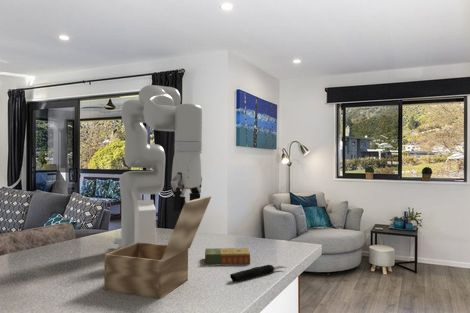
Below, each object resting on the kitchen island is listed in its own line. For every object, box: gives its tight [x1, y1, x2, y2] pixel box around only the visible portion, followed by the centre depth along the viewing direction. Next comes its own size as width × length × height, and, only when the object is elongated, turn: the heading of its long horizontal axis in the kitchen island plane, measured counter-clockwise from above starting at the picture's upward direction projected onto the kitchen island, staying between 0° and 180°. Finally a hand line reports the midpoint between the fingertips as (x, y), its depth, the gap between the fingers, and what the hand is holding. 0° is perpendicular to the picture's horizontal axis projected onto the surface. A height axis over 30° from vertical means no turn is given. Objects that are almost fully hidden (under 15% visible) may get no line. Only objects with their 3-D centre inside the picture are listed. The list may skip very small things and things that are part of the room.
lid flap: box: [161, 195, 212, 262], centre depth 104 cm, size 17×16×1 cm
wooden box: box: [103, 242, 189, 300], centre depth 109 cm, size 18×16×10 cm
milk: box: [135, 199, 157, 244], centre depth 132 cm, size 6×6×22 cm
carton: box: [204, 247, 251, 266], centre depth 134 cm, size 8×16×4 cm, turn 94°
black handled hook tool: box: [230, 264, 288, 283], centre depth 118 cm, size 22×4×3 cm, turn 129°
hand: (187, 208), depth 105 cm, fingers open, 9 cm apart
